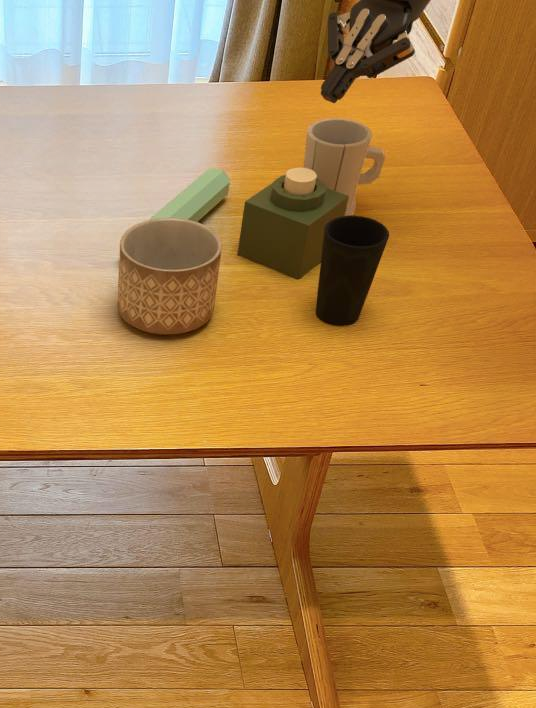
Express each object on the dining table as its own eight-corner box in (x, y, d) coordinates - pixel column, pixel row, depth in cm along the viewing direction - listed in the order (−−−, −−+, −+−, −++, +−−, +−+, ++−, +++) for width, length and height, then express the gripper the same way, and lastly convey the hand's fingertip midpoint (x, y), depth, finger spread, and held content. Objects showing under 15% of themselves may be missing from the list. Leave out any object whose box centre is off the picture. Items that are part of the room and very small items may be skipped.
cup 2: (362, 335, 130) (384, 252, 121) (301, 324, 132) (319, 241, 123) (371, 303, 134) (393, 220, 126) (313, 292, 137) (331, 210, 128)
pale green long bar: (213, 152, 152) (128, 224, 138) (244, 176, 152) (162, 250, 138) (196, 183, 157) (112, 255, 143) (226, 206, 156) (145, 280, 143)
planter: (138, 278, 141) (142, 209, 133) (226, 299, 137) (235, 229, 129) (101, 327, 134) (104, 257, 126) (193, 351, 129) (201, 280, 122)
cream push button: (319, 187, 137) (322, 173, 135) (303, 199, 135) (306, 184, 133) (294, 178, 139) (296, 164, 137) (277, 190, 137) (280, 175, 135)
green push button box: (337, 249, 144) (352, 183, 136) (298, 279, 139) (311, 212, 132) (276, 226, 149) (287, 161, 141) (237, 254, 144) (246, 188, 137)
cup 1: (331, 186, 156) (347, 108, 147) (376, 210, 151) (395, 131, 142) (280, 207, 152) (293, 129, 144) (324, 232, 147) (341, 153, 138)
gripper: (361, -62, 126) (276, 67, 130) (452, -36, 118) (358, 100, 122) (380, -26, 131) (298, 96, 136) (467, 1, 124) (378, 130, 128)
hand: (327, 98), depth 129 cm, fingers closed
